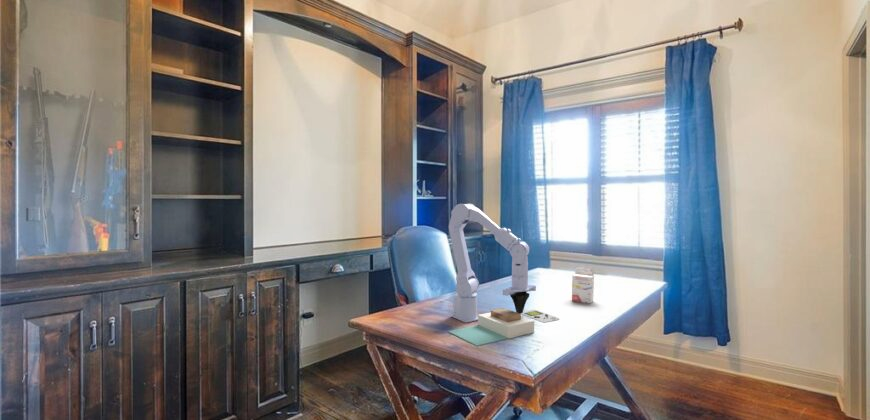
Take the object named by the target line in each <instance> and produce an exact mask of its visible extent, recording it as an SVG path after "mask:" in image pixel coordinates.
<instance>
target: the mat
mask: <svg viewBox="0 0 870 420" xmlns="http://www.w3.org/2000/svg"><path fill="white" fill-rule="evenodd" d="M448 333H449V334H452V335H453V336H456V337H458V338H460V339H462V340H463V341H466V342H468V343H470V344H472V345H474V346H476V347H479V346H480V347H481V346H484V345H488V344H492V343H496V342H501V341H504V340H508V337H505V336H503V335H501V334H498V333H496V332H494V331H491V330H489V329H486V328H484V327H482V326H479V325H478V324H476V325H471V326H467V327H462V328H458V329H453V330H448Z"/></svg>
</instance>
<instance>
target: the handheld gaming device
mask: <svg viewBox="0 0 870 420" xmlns="http://www.w3.org/2000/svg"><path fill="white" fill-rule="evenodd" d="M520 314H521V316H525V317H527V318H530V319H532V320H534V321H535V320H536V321H538V322H540V323H551V322H554V321H559V320H560V318H559V317H557V316H554V315H552V314H548V313H545V312H543V311H540V310H538V309H528V310H523V313H520Z"/></svg>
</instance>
